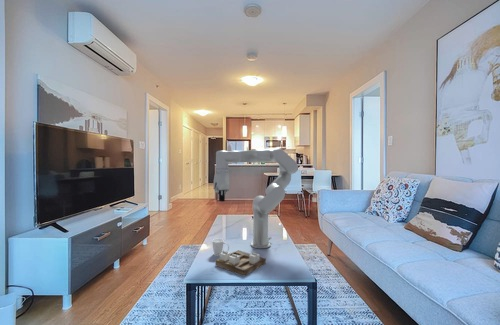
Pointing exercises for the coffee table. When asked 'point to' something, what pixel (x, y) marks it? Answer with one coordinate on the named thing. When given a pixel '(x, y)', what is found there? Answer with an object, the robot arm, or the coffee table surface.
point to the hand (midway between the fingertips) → (221, 201)
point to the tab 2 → (253, 258)
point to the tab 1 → (224, 256)
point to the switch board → (241, 264)
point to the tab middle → (234, 259)
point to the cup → (218, 246)
